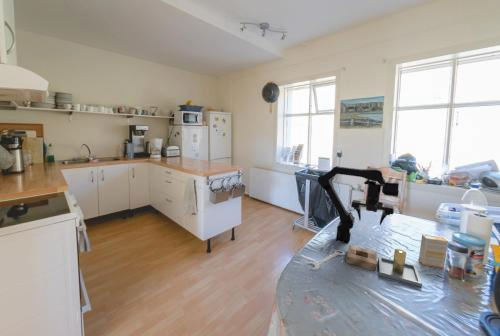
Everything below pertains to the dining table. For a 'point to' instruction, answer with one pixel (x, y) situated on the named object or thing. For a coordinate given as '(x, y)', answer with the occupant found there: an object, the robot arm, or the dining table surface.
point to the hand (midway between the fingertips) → (369, 222)
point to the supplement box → (433, 251)
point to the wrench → (325, 259)
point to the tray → (407, 277)
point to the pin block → (362, 257)
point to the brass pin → (399, 261)
